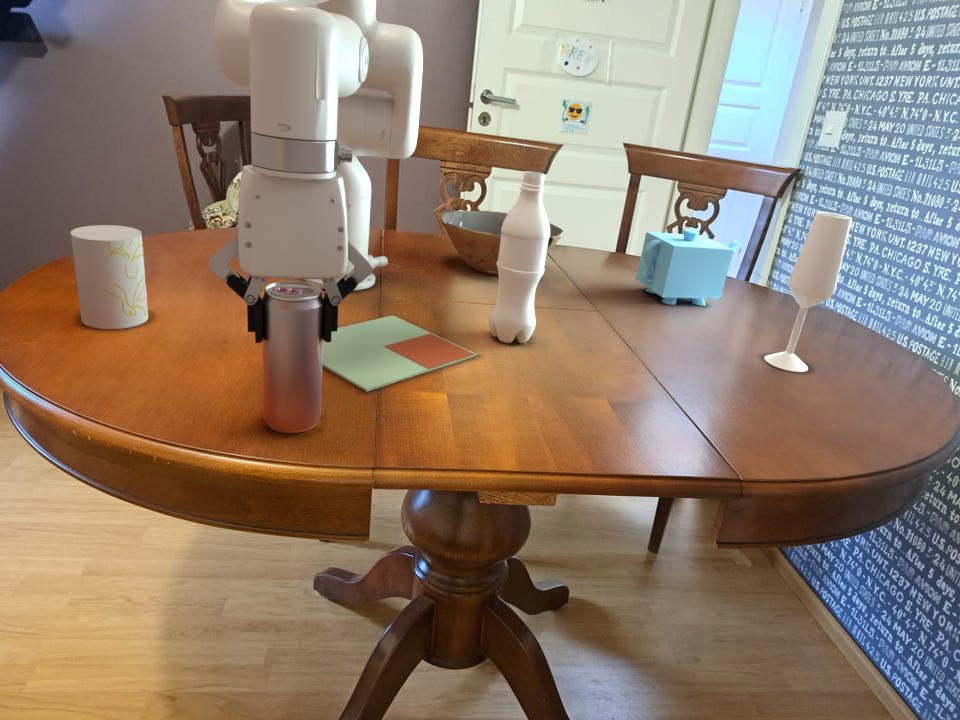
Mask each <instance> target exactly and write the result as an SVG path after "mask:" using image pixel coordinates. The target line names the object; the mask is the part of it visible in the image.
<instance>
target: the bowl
mask: <svg viewBox="0 0 960 720" xmlns="http://www.w3.org/2000/svg"><path fill="white" fill-rule="evenodd" d="M508 213H509V212H500V211H490V210H452V211H451V210H450V211H446V212H444V213H441V214H440V215H439V219H440V222H441V223H442V226H443V228H444V229H445V231H446V233H447V235H448V237H449V239H450V241H451V243H452V245H453V246H454V248H455V250H456V251H457V253H458V255H459V256H460V257H461V259H462V260H463V261H464V263H465V264H466V265H467V266H469V267H470V268H471V269H474V270H476V271H479V272H482V273H486V274H492V275H496V276H497V275H498V276H499V274H498V268H497V261H498V255H499V248H500V241H501V233H502V231H501V228H502V224H503V222H504V220H505V218H506V216H507V215H508ZM549 226H550V238H549V240H548V246H547V252H549V250H551V248H553V247H554V246H555V245H556V244H557V243H558V242H559V240H560V239H562V236H563V234H564V230H563V229H562V228H561V227H558V226H557V225H555V224H553V223H550V222H549Z"/></svg>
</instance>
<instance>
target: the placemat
mask: <svg viewBox="0 0 960 720" xmlns="http://www.w3.org/2000/svg"><path fill="white" fill-rule="evenodd" d="M477 355H478V354H477V353H476V352H473V351H472V350H470V349H468V348H465V347H463V346H461V345H458V344H456V343H455V342H452V341H450V340H448V339H445V338H443V337H441V336H439V335H437V334H435V333H432V332H430V331H428V330H426V329H424V328H421V327H420V326H418V325H415V324H413V323H411V322H409V321H406V320H404V319H402V318H400V317H398V316H396V315H393V314H392V315H388V316H383V317H379V318H375V319H370V320H366V321H362V322H358V323H353V324H349V325H343V326H340V327H338V329H337V332H331V342H326V341H324V340H323V356H322V368H324V369H326V370H327V371H329V372H331V373H332V374H335V375H336V376H338V377H340V378H341V379H343V380H344V381H346V382H348V383H350V384H351V385H353V386H355V387H357V388H358V389H360V390H362V391H364V392H365V393H368V392H370V391H374V390H377V389H379V388H383V387H386V386H389V385H392V384H396V383H398V382H401V381H405V380H408V379H411V378H414V377H417V376H421V375H422V374H426V373H430V372H432V371H435V370H438V369H441V368H445V367H448V366H451V365H454V364H457V363H460V362H463V361H466V360H469V359H473V358H475V357H477Z"/></svg>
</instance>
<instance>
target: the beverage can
mask: <svg viewBox="0 0 960 720" xmlns="http://www.w3.org/2000/svg"><path fill="white" fill-rule="evenodd" d="M261 298H262V306H263V342H262V415H263V417H262V418H263V420H264V423H266V425H267V426H268V428H270V429H272V430H274V431H276V432H278V433H282V434H300V433H304V432H308V431H310V430H312V429H313V428H314V427H316V426H317V424H318V423H319V422H320V420H321V418H322V387H323V386H322V385H323V366H322V356H323V319H324V300H323V298H324V296H323V289H322V288H320V287H318V286H316V285H314V284H310V283H307V282H305V281H299V280H298V281H297V280H282V281H276V282H271V283H269V284H266V285H265V286H264V287H263V296H262V297H261Z"/></svg>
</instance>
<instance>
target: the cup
mask: <svg viewBox="0 0 960 720" xmlns="http://www.w3.org/2000/svg"><path fill="white" fill-rule="evenodd" d="M142 234H143V233H142V231H141V230H139V229H137V228H134V227H131V226H125V225H113V224H98V225H86V226H79V227H76V228H74V229H72V230H71V231H70V239H71V240H70V241H71V247H72V257H73V261H74V262H73V264H74V271H75V272H74V273H75V279H76V287H77V296H78V303H79V311H80V319H81V323H82V324H83V325H85V326H87V327H90V328H92V329H93V328H94V329H100V330H122V329H127V328H134V327H136V326H140V325H143V324H144V323H146V322H147V321H148V320H149V308H148V307H149V306H148V295H147V294H148V293H147V284H146V271H145V260H144V247H143V235H142Z"/></svg>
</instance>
